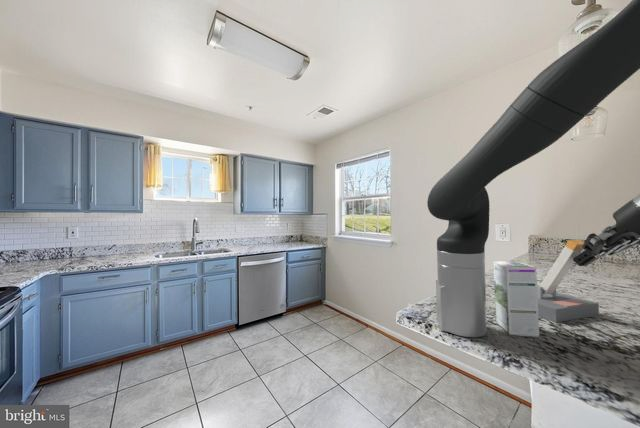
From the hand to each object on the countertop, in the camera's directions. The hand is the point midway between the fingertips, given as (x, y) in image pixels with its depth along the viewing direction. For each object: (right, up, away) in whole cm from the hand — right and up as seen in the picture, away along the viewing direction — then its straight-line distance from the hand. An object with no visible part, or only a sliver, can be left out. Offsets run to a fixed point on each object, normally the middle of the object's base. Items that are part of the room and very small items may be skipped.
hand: (578, 263), depth 57 cm
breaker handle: (-2, -9, +7) cm, 12 cm away
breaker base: (-2, -13, +7) cm, 15 cm away
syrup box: (-19, -14, -5) cm, 24 cm away
